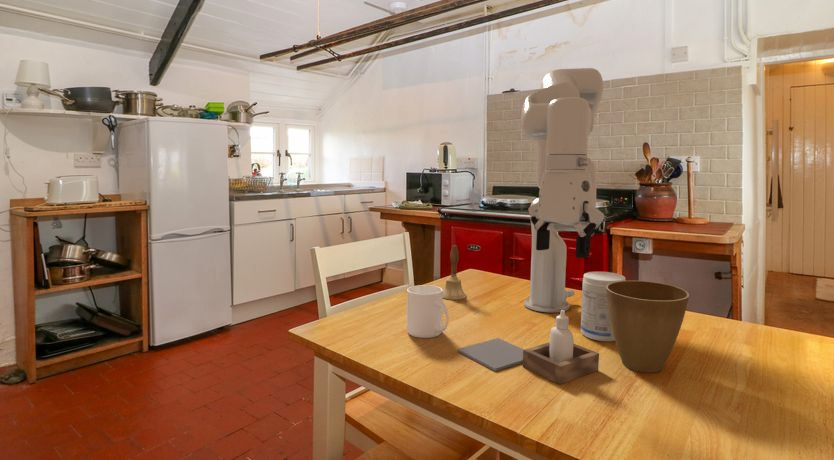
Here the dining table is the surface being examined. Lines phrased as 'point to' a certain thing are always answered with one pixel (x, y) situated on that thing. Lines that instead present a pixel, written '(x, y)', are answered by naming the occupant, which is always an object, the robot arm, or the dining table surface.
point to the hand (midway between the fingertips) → (561, 253)
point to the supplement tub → (597, 305)
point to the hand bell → (453, 279)
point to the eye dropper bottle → (561, 340)
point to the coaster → (494, 354)
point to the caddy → (563, 371)
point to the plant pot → (645, 321)
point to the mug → (425, 311)
